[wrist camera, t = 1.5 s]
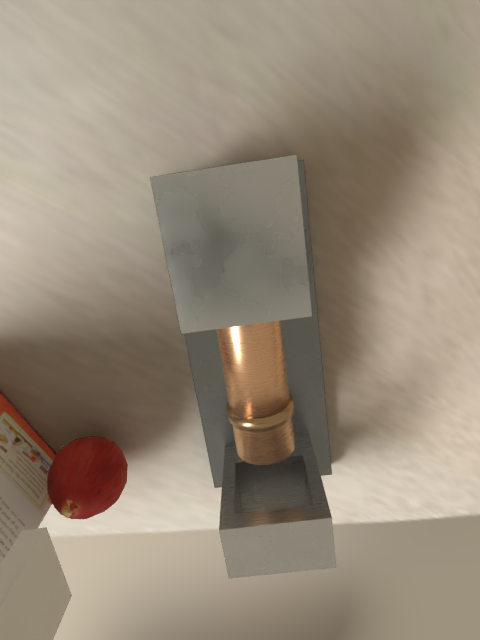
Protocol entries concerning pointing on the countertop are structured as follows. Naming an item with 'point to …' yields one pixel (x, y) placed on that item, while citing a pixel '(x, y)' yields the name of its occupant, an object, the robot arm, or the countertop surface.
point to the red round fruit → (86, 477)
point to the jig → (245, 309)
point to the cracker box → (21, 476)
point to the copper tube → (257, 391)
